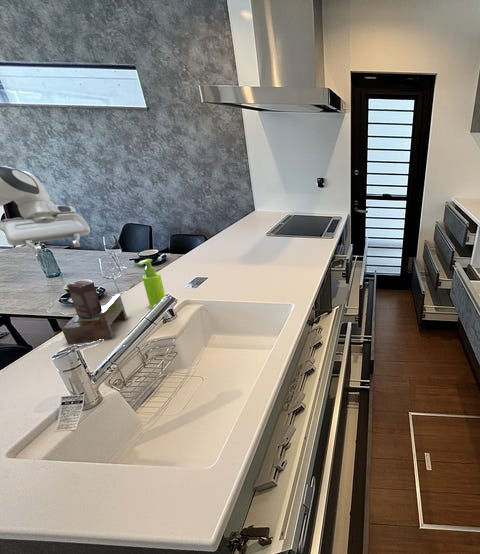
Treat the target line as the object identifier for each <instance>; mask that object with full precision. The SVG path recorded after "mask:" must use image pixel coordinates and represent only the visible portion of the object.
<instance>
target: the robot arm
mask: <svg viewBox="0 0 480 554" xmlns="http://www.w3.org/2000/svg"><path fill="white" fill-rule="evenodd" d="M11 202H14V203H15V204H16V205H17V209H18V211H19V213H20V217H13V218H4V219H2V220H0V231H2V232H4V235H5V238H6V241H7V243H8V245H10V246H13V247H16V246H22V245H25V246H27V247H28V248H29V249H31V250H33V251H34V252H35V254H38V255H39V254H43V253H44V252H43V251H44V250H43V249H42V247H41V245H38V246H37V245H35V243H36V244H37V243H41V242H42V243H43V242H50V241H56V240H57V241H58V240H64V239H71V238H73V239H74V240H72V245H73V247H74V248H80V247H81V243H80V239H81V237H85V236H89V235H90V233H91V228H90V226H89V224H88V222H87V221H86V219H85V218H84V217H83V216H82V215H81V214H79V213H77V211H76V208H75V207H74V206H68V205H59V204H55V203H54V202H53V201H52V200H51V196H50V195H49V193H48V190H47V189H46V187H45V186H44V184H43V183H42V181H40V180H39V179H38V177H36V176H35V175H34V174H32V173H30V172H27V171H23V170H21V169H17V168H14V167H10V166H7V165H0V207H2V206H5V205H7V204H8V203H11Z"/></svg>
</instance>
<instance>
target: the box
mask: <svg viewBox="0 0 480 554" xmlns="http://www.w3.org/2000/svg"><path fill="white" fill-rule="evenodd" d="M66 286H67V289H68V292H69V295H70V298H71V301H72V303H73V307H74V309H75V312H76V314H77V315H78V317H82V318H87V319H94V318H96V317H98V316H99V315H98V313H99V312H100V311H101V310H102V308H101V306H102V305H101V302H100V299H99V296H98V293H97V290H96V286H95V283H94V282H91V281H85V280H78V281H75V282H70V283H69V284H66Z"/></svg>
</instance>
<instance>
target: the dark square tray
mask: <svg viewBox="0 0 480 554" xmlns="http://www.w3.org/2000/svg"><path fill="white" fill-rule="evenodd" d="M101 308H102V310H101V311H100V312H99V313H98V315H99V316H98V317H96V318H94V319H87V318H82V317H78V315H77V313H76V314H75V315H74V316H73V317H72V318H71V319H70V320H69V321H68V322H66V324H65V325H64V326H63V327H62V328H61V331H62V333H63V336H64V339H65V341H66V343H67V345H73V344H80V343H81V344H82V343H90V342H97V341H96V340H99V339H104V340H103V341H105V340H106V341H107V340H113V339H114V332H113V330H112V326H111V325H112V324H113V322H120V321H126V320H127V319H128V316H127V312H126V309H125V305H124V303H123V300H122V297H121V294H115V295H113V297H112V298H110V300H109V301H108V303H106V304H105V305H101ZM99 341H100V340H99Z"/></svg>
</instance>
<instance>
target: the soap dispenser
mask: <svg viewBox="0 0 480 554" xmlns="http://www.w3.org/2000/svg"><path fill="white" fill-rule="evenodd" d="M153 261H154V260H153V259H152V258H145V259H142V260H140V261H138V262H136V265H137V266H143V265H145V267H143V270H144V275H143V276H142V277H141V279H142V282H143V285H144V289H145V293H146V296H147V300H148V304H149V308H151V309H153V306H154V305H155V304H157V303H158V302H159V301H160V300H161V299H162V298H163V297H164V296H166V292H165V289H164V285H163V280H162V276H161V274H160V273H157V271H156V267H155V266H154V265H152V262H153Z"/></svg>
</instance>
